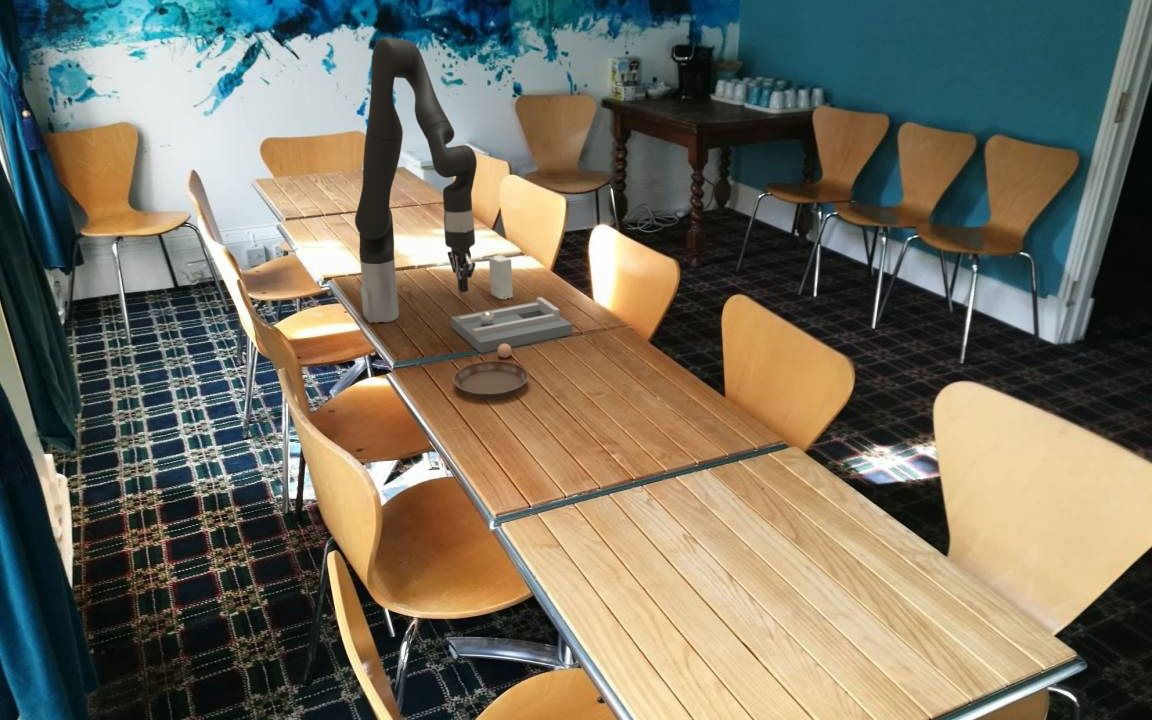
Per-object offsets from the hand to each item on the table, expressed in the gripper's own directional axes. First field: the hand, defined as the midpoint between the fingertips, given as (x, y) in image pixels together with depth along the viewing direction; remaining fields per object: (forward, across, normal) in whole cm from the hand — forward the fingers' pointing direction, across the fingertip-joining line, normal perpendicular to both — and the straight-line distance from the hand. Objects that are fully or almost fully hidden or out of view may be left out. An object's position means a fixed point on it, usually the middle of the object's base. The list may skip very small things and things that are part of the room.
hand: (463, 291), depth 229 cm
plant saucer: (+14, +29, -6) cm, 33 cm away
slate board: (+14, 0, +13) cm, 19 cm away
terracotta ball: (+12, +15, +4) cm, 20 cm away
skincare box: (+14, -26, +23) cm, 37 cm away
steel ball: (+9, 0, +6) cm, 11 cm away
